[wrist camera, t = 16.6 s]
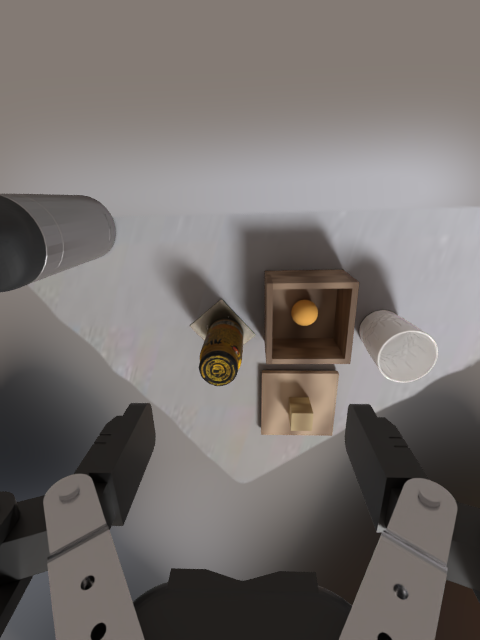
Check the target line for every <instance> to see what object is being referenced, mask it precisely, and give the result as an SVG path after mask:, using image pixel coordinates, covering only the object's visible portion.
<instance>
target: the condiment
mask: <svg viewBox="0 0 480 640" xmlns="http://www.w3.org/2000/svg"><path fill="white" fill-rule="evenodd" d="M228 316H229V317H228ZM207 325H208V327H207ZM190 327H191V328H192V329H193V330H194V331H195V332H196V333H197V334H198V335H199V336H200V337H201V338H202V339H203V340H204V344H203V346H202V350H201V353H200V365H199V371H200V374H201V376H202V378H203V379H204V380H205V381H206V382H208V383H209V384H212V385H215V386H223V385H227V384H228V383H230V382H232V381H233V380H234V379H235V377H236V375H237V372H238V369H239V368H240V365H241V360H242V352H243V350H242V349H243V345H244V344H245V343H246V342H248V341H249V340H250V339H252V338H253V337H254V336H255V334H254V333H253V332H252V331H251V330H250V329H249V328H248V327H247V326H246V324H245V323H244V322H243V321H242V320H241V319H240V318H239V317H238V316H237V315H236V314H235V313H234V312H233V311H232V310H231V309H230V308H229V307H228V306H227V305H226V304H225V303H224V301H223V300H222V299H221V300H220V301H218V302H217V303H216V304H215V305H214V306H212V307H211V308H210V309H209V310H208V311H207V312H205V313H204V314H203V315H202V316H201V317H200V318H199V319H197V320H196V321H195V322H194V323H193V324H192V325H190ZM207 328H208V330H207Z"/></svg>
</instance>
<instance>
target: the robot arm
mask: <svg viewBox="0 0 480 640" xmlns="http://www.w3.org/2000/svg"><path fill="white" fill-rule="evenodd" d="M115 236H116V228H115V224H114V220H113V218H112V216H111V214H110V213H109V211H108V210H107V209H106V208H105V207H104V206H103V205H102V204H101V203H100V202H98V201H97V200H95V199H93V198H91V197H88V196H82V195H43V194H0V292H5V291H10V290H14V289H17V288H20V287H22V286H25V285H27V284H30V283H32V282H35V281H38V280H40V279H43V278H46V277H48V276H51V275H53V274H56V273H59V272H61V271H64V270H67V269H70V268H72V267H75V266H78V265H80V264H83V263H86V262H89V261H91V260H94V259H97V258H99V257H101V256H103V255H105V254H106V253H107V252H109V251H110V249H111V248H112V246H113V244H114V241H115ZM345 445H346V451H347V454H348V456H349V459H350V461H351V464H352V467H353V470H354V472H355V475H356V478H357V481H358V483H359V486H360V489H361V491H362V494H363V497H364V499H365V502H366V505H367V507H368V510H369V513H370V516H371V518H372V521H373V524H374V526H375V529H376V532H382V534H381V537H380V539H379V541H378V544H377V546H376V549H375V551H374V554H373V556H372V559H371V561H370V564H369V567H368V569H367V571H366V574H365V576H364V579H363V581H362V584H361V586H360V588H359V591H358V593H357V596H356V598H355V601H354V604H353V606H352V605H350V604H349V603H348V602H347V601H345V600H344V599H343V598H341V597H340V596H338V595H336V594H335V593H333V592H331V591H329V590H327V589H325V588H322V587H319V586H318V583H317V577H316V573H315V572H286V571H285V572H284V571H279V572H275V573H272V574H268V575H264V576H261V577H257V578H254V579H250V580H246V581H240V580H236V579H233V578H230V577H227V576H224V575H221V574H218V573H215V572H212V571H209V570H206V569H171V572H170V577H169V581H168V582H167V583H163V584H161V585H158V586H156V587H154V588H152V589H150V590H149V591H147V592H145V593H144V594H142V595H141V596H140V597H138V598H137V599H136V600H135V601H134V602H132V599H131V596H130V593H129V589H128V586H127V583H126V580H125V577H124V574H123V571H122V568H121V565H120V561H119V558H118V556H117V552H116V549H115V546H114V543H113V540H112V537H111V534H110V528H111V526H123V525H124V522H125V520H126V517H127V515H128V512H129V510H130V507H131V505H132V502H133V500H134V497H135V495H136V492H137V490H138V487H139V485H140V482H141V480H142V477H143V475H144V472H145V470H146V467H147V465H148V462H149V460H150V457H151V455H152V452H153V449H154V446H155V428H154V421H153V415H152V408H151V405H150V403H131V404H130V405H129V407H128V408H127V409H126V411H125V413H124V415H123V416H116V417H115V418H113V419H112V420H111V421H110V422H108V423H107V424H106V425H105V427H104V429H103V430H102V432H101V433H100V436H98V438H97V439H96V441H95V442H94V444H93V445H92V447H91V448H90V450H89V451H88V453H87V454H86V456H85V457H84V459H83V460H82V462H81V464H80V465H79V467H78V468H77V470H76V471H75V473H74V474H73V475H70V476H67V477H65V478H63V479H61V480H59V481H58V482H56V483H55V484H54V485H53V486H52V487H51V488H50V489H49V490H48V491H47V493H46V495H44V496H40V497H36V498H32V499H28V500H24V501H20V502H16V500H15V497H14V495H13V494H12V493H10V492H0V637H1V635H2V634H3V632H4V630H5V628H6V626H7V624H8V622H9V620H10V619H11V617H12V615H13V613H14V611H15V609H16V607H17V605H18V603H19V602H20V600H21V598H22V596H23V594H24V592H25V590H26V588H27V586H28V585H29V583H30V581H31V579H32V577H33V575H35V574H39V573H42V572H45V571H48V575H49V584H50V592H51V601H52V609H53V618H54V626H55V635H56V640H435V634H436V628H437V624H438V619H439V613H440V608H441V603H442V598H443V592H444V587H445V582H446V580H449V581H452V582H455V583H458V584H461V585H463V586H466V587H469V588H472V589H473V591H474V593H475V595H476V597H477V599H478V601H479V603H480V508H477V507H472V506H469V505H466V504H462V503H459V502H457V501H455V499H454V498H453V496H452V495H451V494H450V493H449V492H448V491H447V490H446V489H445V488H443V487H442V486H440V485H439V484H437V483H435V482H433V481H430V480H429V479H428V477H427V475H426V474H425V472H424V471H423V469H422V467H421V466H420V464H419V463H418V461H417V459H416V458H415V456H414V455H413V453H412V451H411V450H410V448H408V445H407V444H406V442H405V440H404V439H403V438H402V436H401V434H400V432H399V431H398V429H397V428H396V426H395V425H393V424H392V423H391V422H390V421H388V420H387V419H386V418H382V417H381V418H380V417H379V418H378V417H377V416H376V414H375V412H374V410H373V409H372V407H371V405H369V404H350V405H349V406H348V413H347V421H346V430H345Z"/></svg>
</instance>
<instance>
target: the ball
mask: <svg viewBox="0 0 480 640" xmlns="http://www.w3.org/2000/svg"><path fill="white" fill-rule="evenodd" d="M291 315H292V318H293V320H294V321H295V322H296V323H297V324H299V325H302V326H308V325H310V324H312V323H314V322H315V320H316V319H317V316H318V309H317V307H316V305H315V304H314V303H313V302H311V301H309V300H300V301H298V302H297V303H295V304H294V306H293V307H292V311H291Z"/></svg>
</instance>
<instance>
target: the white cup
mask: <svg viewBox="0 0 480 640" xmlns="http://www.w3.org/2000/svg"><path fill="white" fill-rule="evenodd" d="M359 334H360V337H361V340H362V342H363V343H364V345H365V347H366V349H367V351H368V353H369V354H370V356H371V358H372V359H373V361H374V362H375V364H376V365H377V367H378V369H379V370H380V372H381V373H382V374H383V375H384V376H385V377H386V378H388V379H389V380H392V381H395V382H411V381H414V380H417V379H419V378H421V377H423V376H424V375H426V374H427V373H428V372H429V371H430V370H431V369H432V368H433V366H434V364H435V363H436V360H437V356H438V348H437V345H436V342H435V341H434V339H433V338H432V337H431V336H430V335H428V334H427V333H425V332H424V331H422V330H421V329H419V328H418V327H416V326H415V325H413V324H412V323H410V322H408V321H407V320H405V319H404V318H402V317H400V316H398V315H396V314H395V313H393V312H390V311H387V310H380V311H374V312H373V313H371V314H369V315H368V316H366V317H365V319H364V320H363V321H362V323H361V324H360V330H359Z"/></svg>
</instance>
